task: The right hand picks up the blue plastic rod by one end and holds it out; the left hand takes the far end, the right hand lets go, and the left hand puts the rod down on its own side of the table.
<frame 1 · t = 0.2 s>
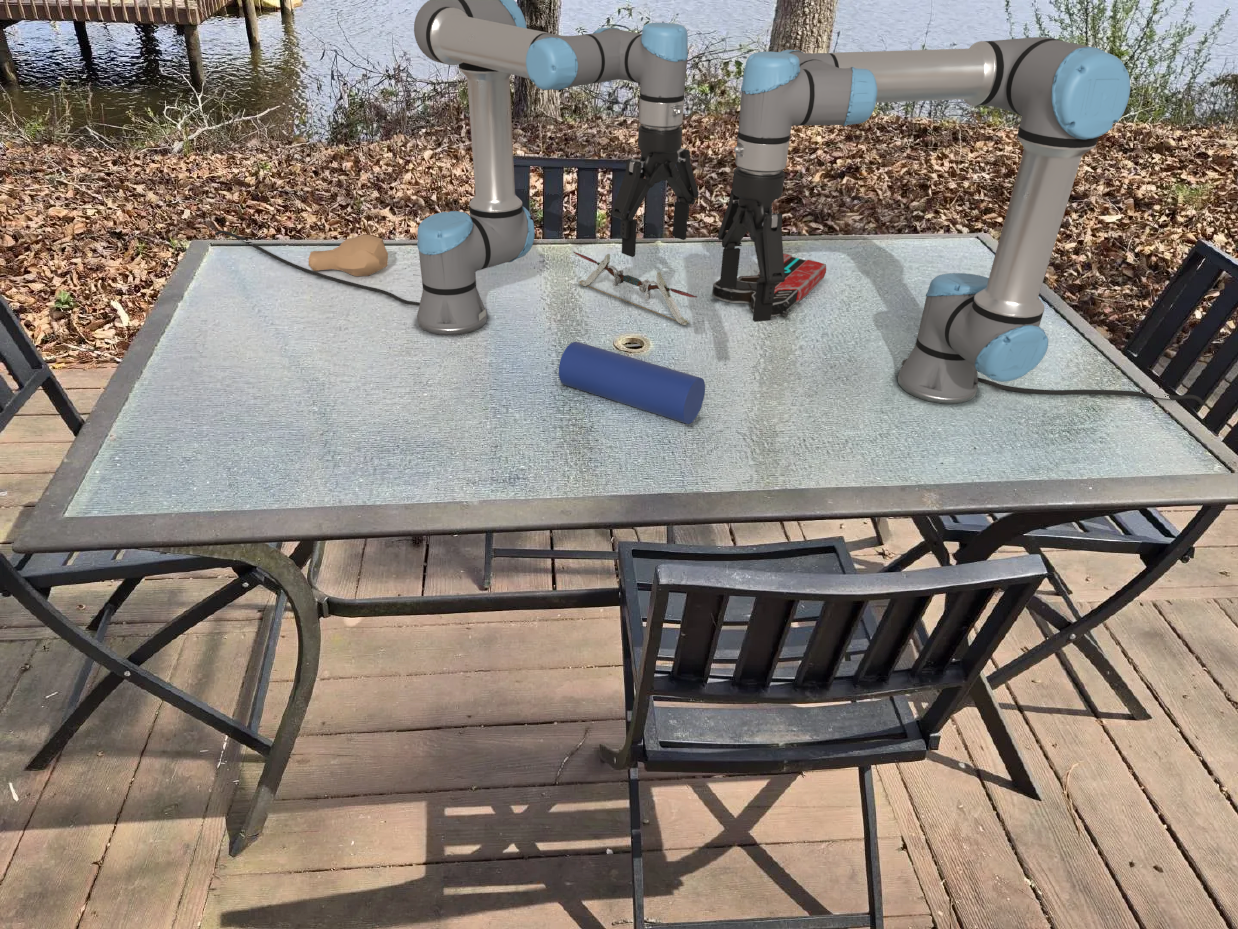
left hand: (654, 246, 161), 28 cm above the table, tool pointing down, fingers open, 13 cm apart
right hand: (744, 303, 141), 28 cm above the table, tool pointing down, fingers open, 13 cm apart
rod: (630, 401, 169), on the table
bow: (631, 304, 208), on the table
gun: (770, 291, 216), on the table
squash: (350, 271, 220), on the table
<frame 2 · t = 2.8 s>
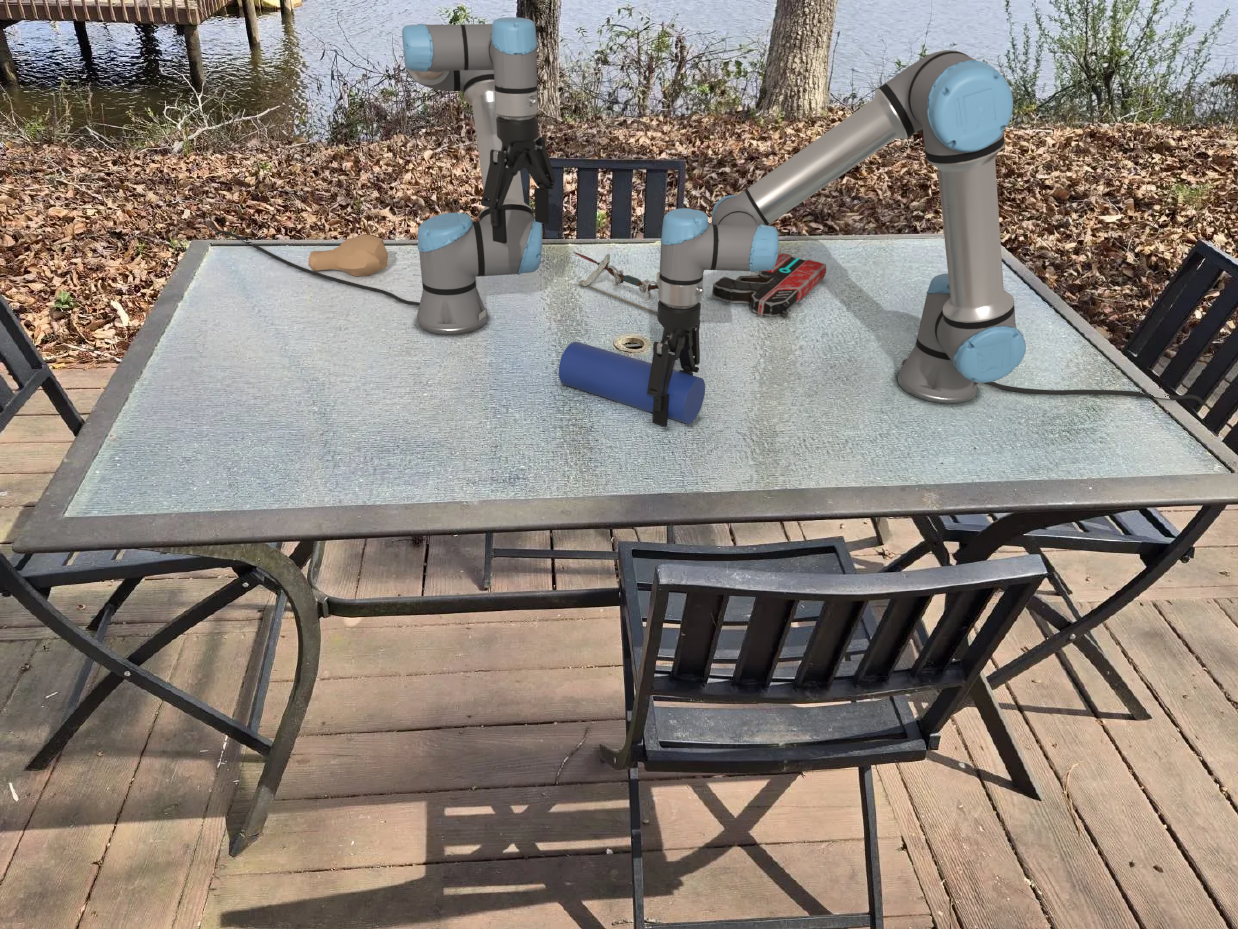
left hand: (521, 231, 168), 27 cm above the table, tool pointing down, fingers open, 13 cm apart
right hand: (671, 412, 165), 0 cm above the table, tool pointing down, fingers closed on rod, 9 cm apart
rod: (630, 401, 169), on the table, touching right hand
everything else where it was.
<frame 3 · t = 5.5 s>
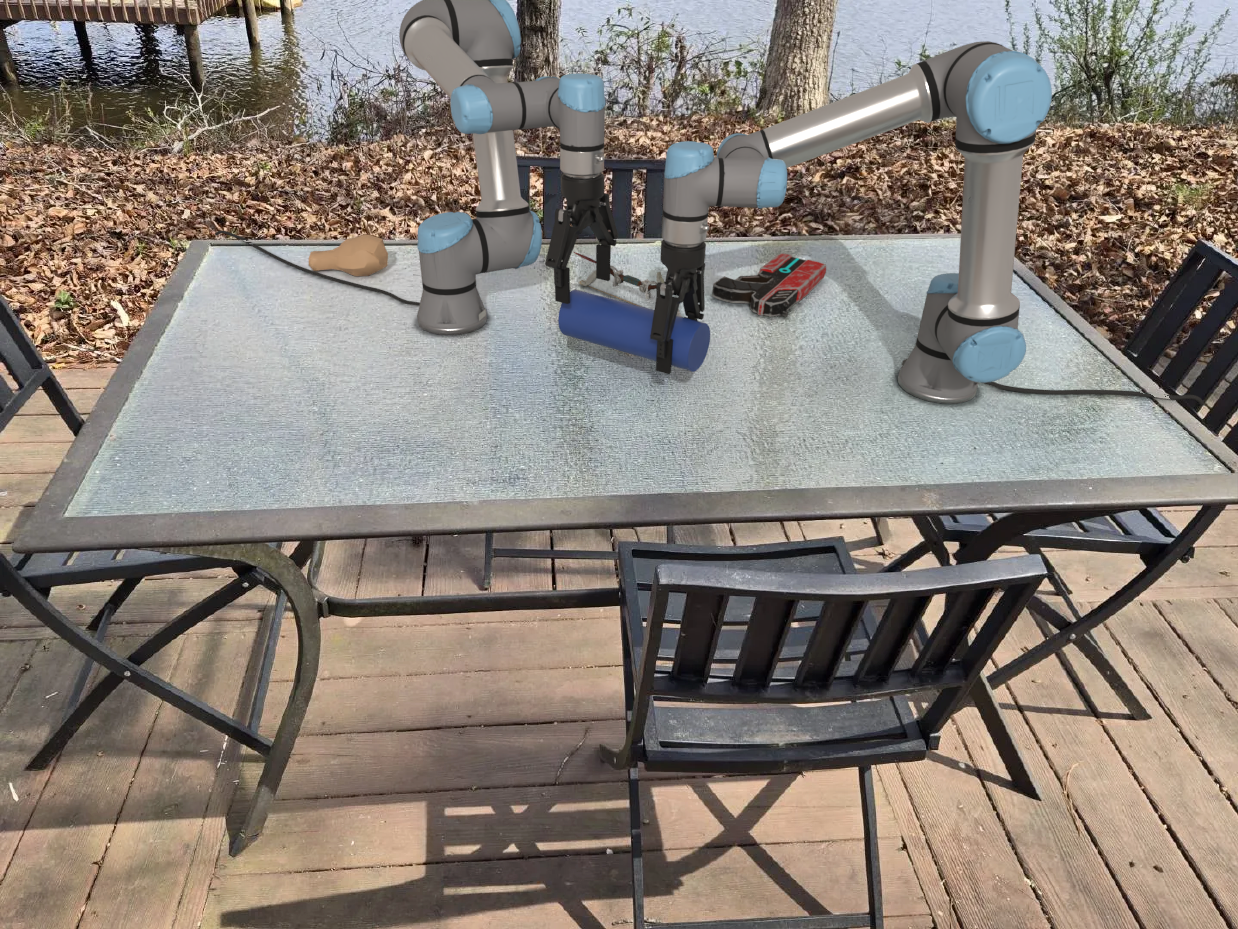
left hand: (583, 290, 162), 20 cm above the table, tool pointing down, fingers open, 13 cm apart
right hand: (675, 361, 159), 11 cm above the table, tool pointing down, fingers closed on rod, 9 cm apart
rod: (632, 351, 163), point 11 cm above the table, touching right hand
everything else where it was.
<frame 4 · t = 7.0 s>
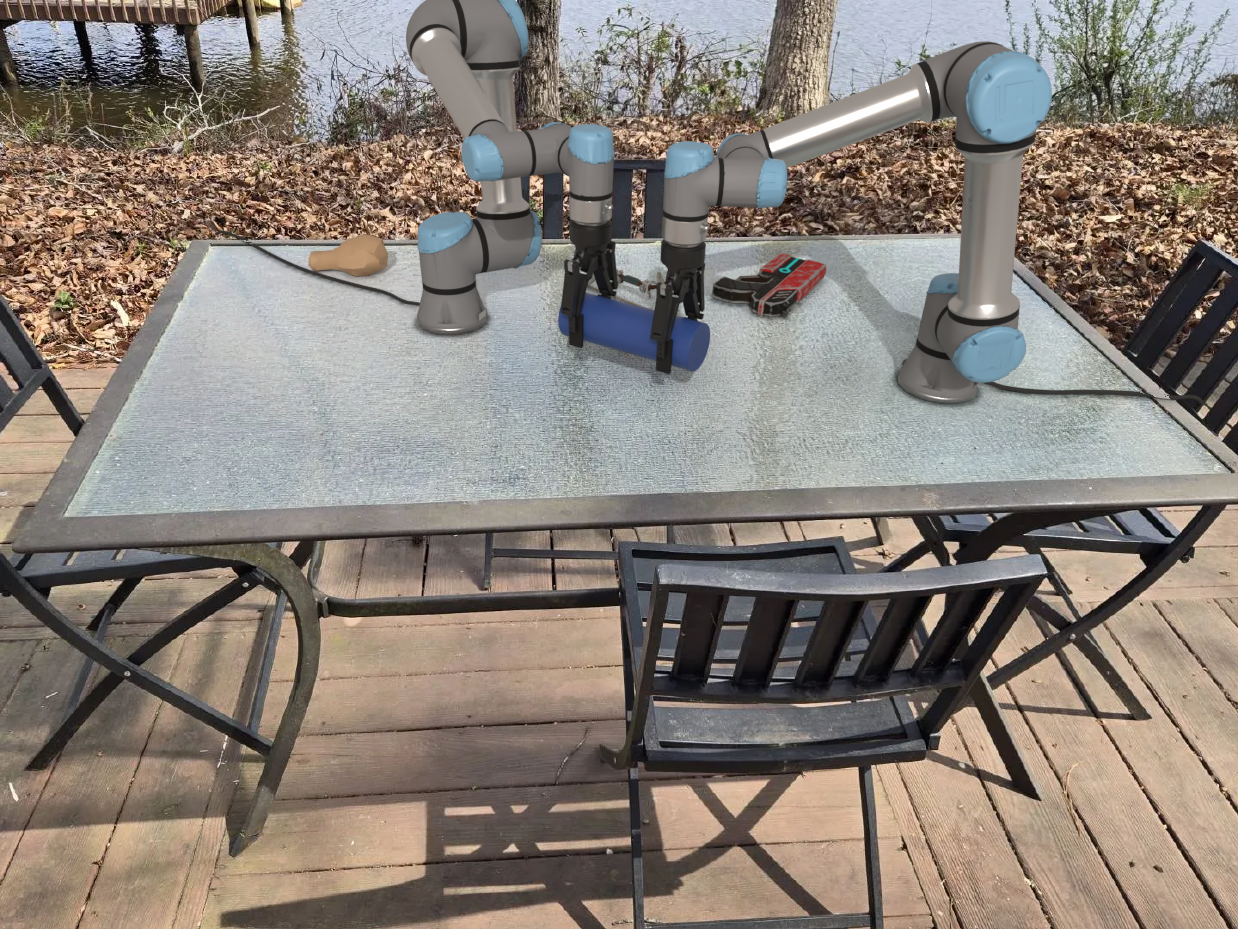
left hand: (589, 336, 166), 11 cm above the table, tool pointing down, fingers closed on rod, 9 cm apart
right hand: (675, 361, 159), 11 cm above the table, tool pointing down, fingers closed on rod, 9 cm apart
rod: (632, 351, 163), point 11 cm above the table, touching left hand, right hand
everything else where it was.
when the right hand's fingers open (11 cm above the table, at t = 8.1 s): rod stays where it is, held by the left hand.
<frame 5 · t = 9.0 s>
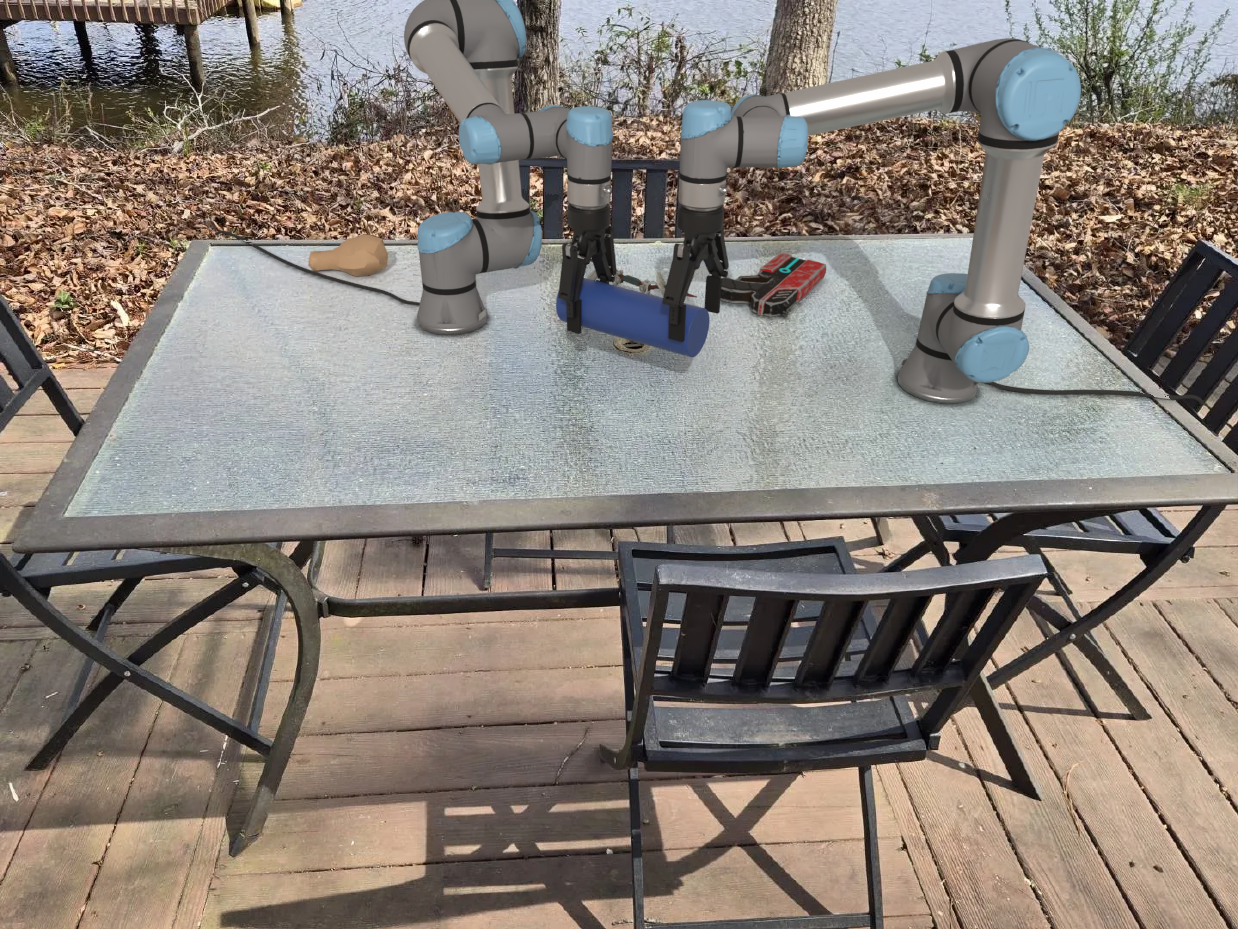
left hand: (588, 322, 165), 14 cm above the table, tool pointing down, fingers closed on rod, 9 cm apart
right hand: (694, 325, 153), 19 cm above the table, tool pointing down, fingers open, 13 cm apart
rod: (630, 337, 161), point 14 cm above the table, touching left hand
everything else where it was.
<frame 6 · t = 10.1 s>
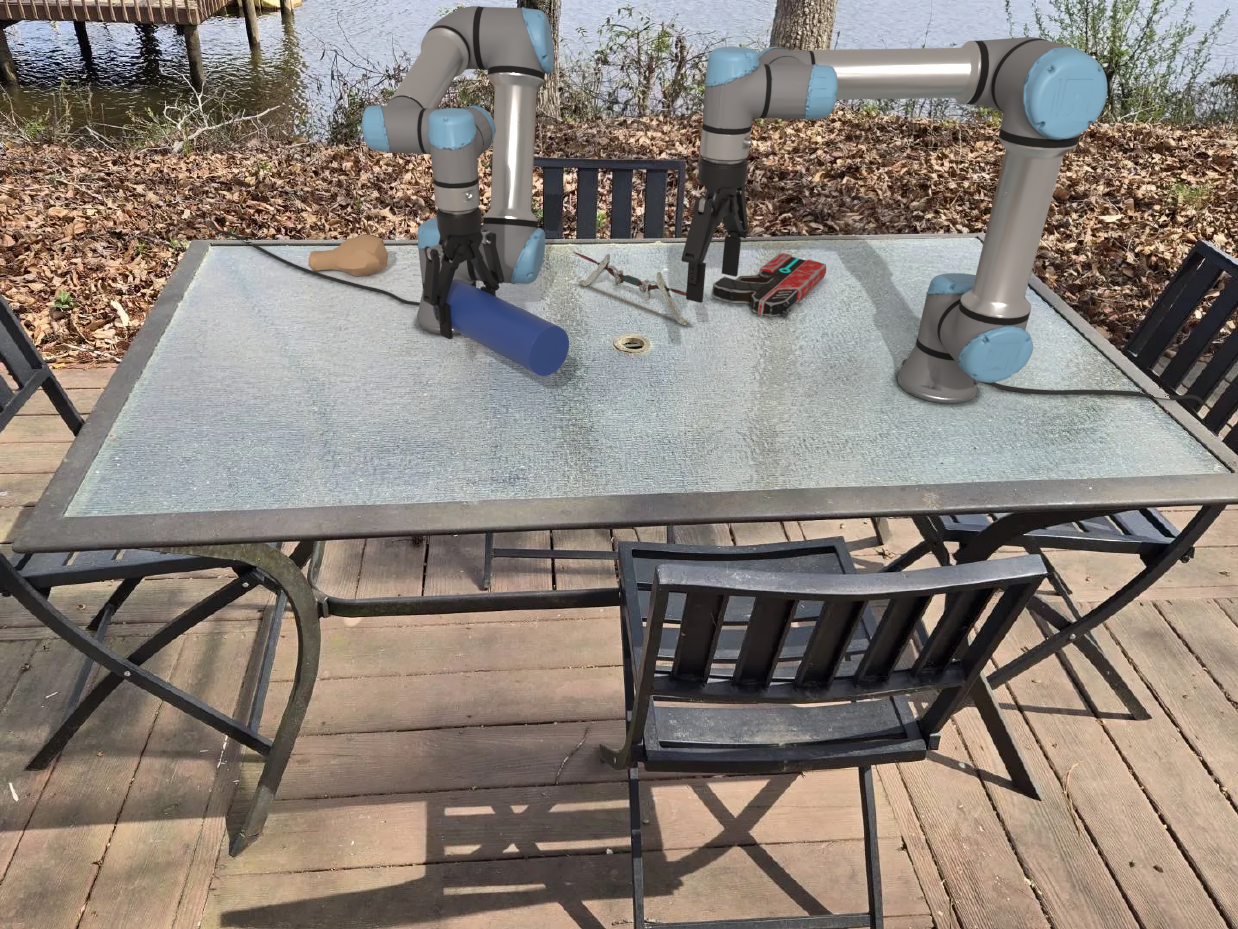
left hand: (467, 328, 161), 14 cm above the table, tool pointing down, fingers closed on rod, 9 cm apart
right hand: (712, 287, 148), 27 cm above the table, tool pointing down, fingers open, 13 cm apart
rod: (500, 348, 156), point 14 cm above the table, touching left hand
everything else where it was.
when the left hand's fingers open (2 cm above the table, at t = 13.0 s): rod drops 1 cm, on the table.
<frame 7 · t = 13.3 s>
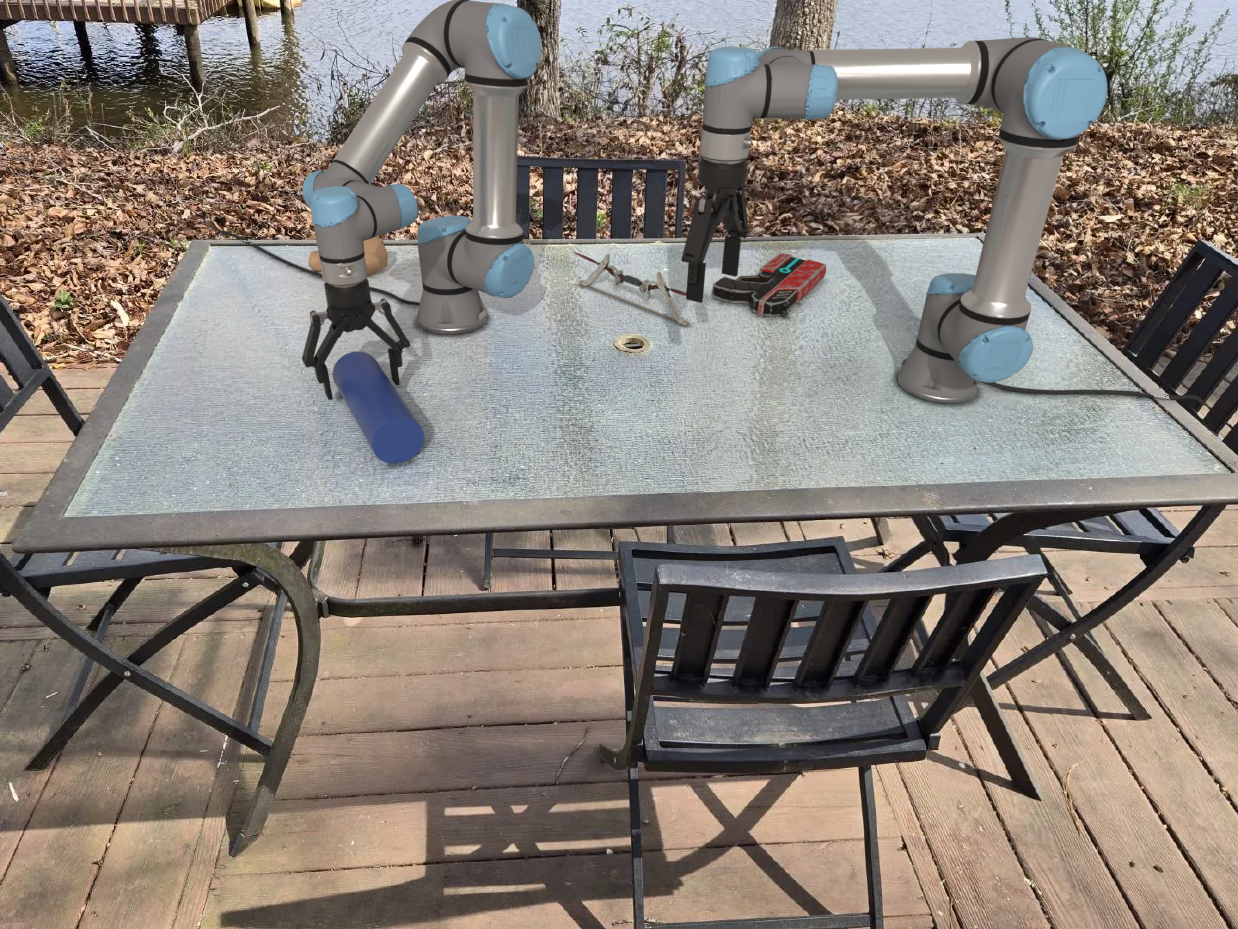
left hand: (363, 389, 164), 3 cm above the table, tool pointing down, fingers open, 12 cm apart
right hand: (712, 287, 148), 27 cm above the table, tool pointing down, fingers open, 13 cm apart
rod: (379, 425, 159), on the table
everything else where it was.
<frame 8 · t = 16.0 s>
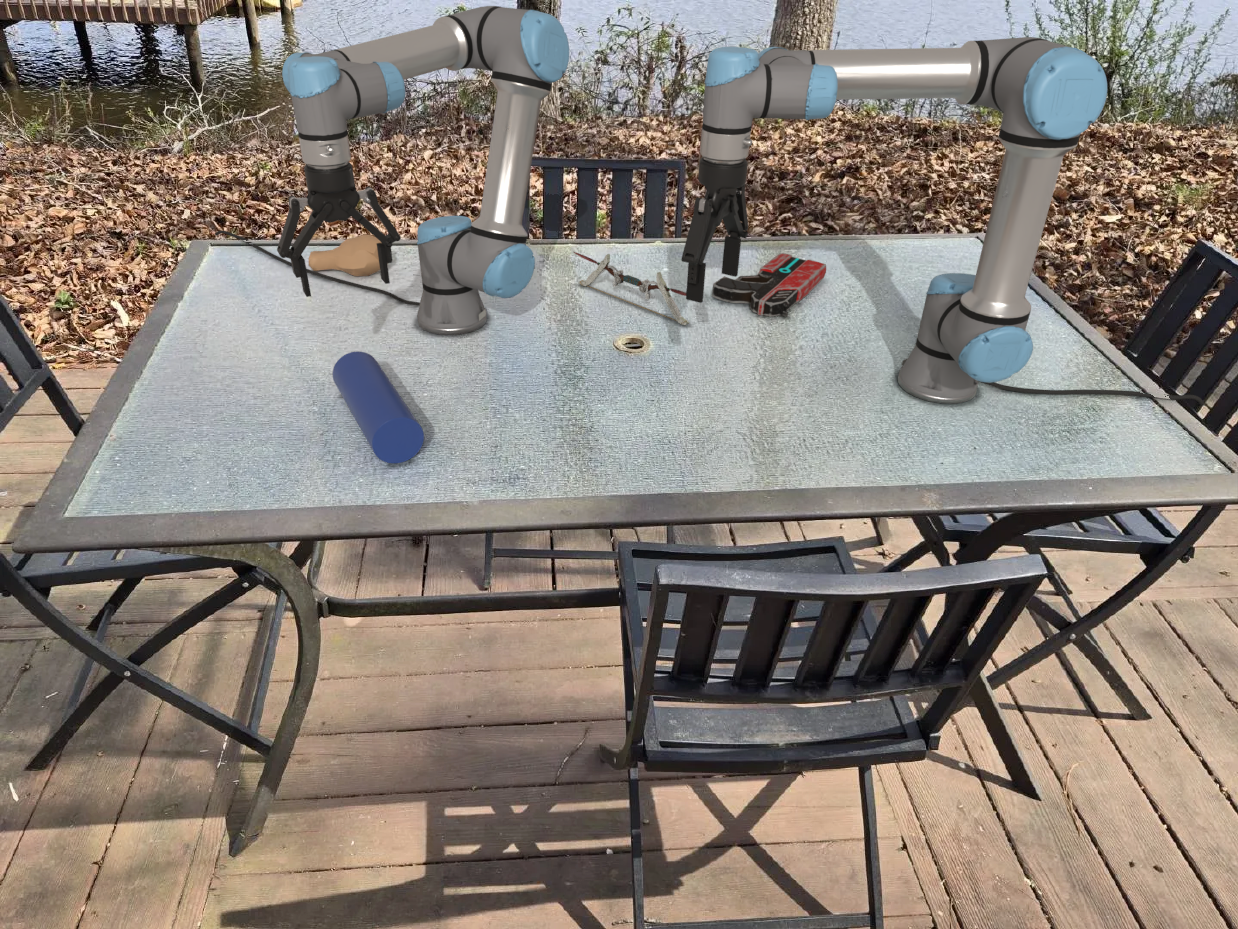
left hand: (347, 287, 153), 23 cm above the table, tool pointing down, fingers open, 13 cm apart
right hand: (712, 287, 148), 27 cm above the table, tool pointing down, fingers open, 13 cm apart
nothing on the table moved.
at the end: rod inside the target area (9.2 cm from its centre), on the table; the left hand is holding nothing; the right hand is holding nothing; rod at rest at the end (0.0 cm/s) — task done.
